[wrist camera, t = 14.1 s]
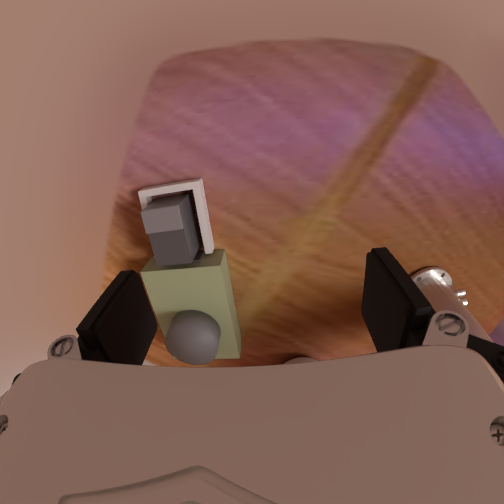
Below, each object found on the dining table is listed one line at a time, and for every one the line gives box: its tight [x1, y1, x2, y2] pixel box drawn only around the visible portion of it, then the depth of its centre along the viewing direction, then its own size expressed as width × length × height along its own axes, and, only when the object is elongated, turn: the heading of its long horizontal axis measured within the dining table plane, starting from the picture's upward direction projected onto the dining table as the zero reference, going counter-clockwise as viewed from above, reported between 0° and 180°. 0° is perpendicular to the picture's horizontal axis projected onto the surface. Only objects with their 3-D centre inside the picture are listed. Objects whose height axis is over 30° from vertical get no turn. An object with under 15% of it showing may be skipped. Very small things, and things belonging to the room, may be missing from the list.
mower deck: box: [138, 178, 242, 365], centre depth 40 cm, size 12×29×9 cm, turn 7°
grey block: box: [141, 193, 201, 266], centre depth 37 cm, size 5×8×7 cm, turn 7°
